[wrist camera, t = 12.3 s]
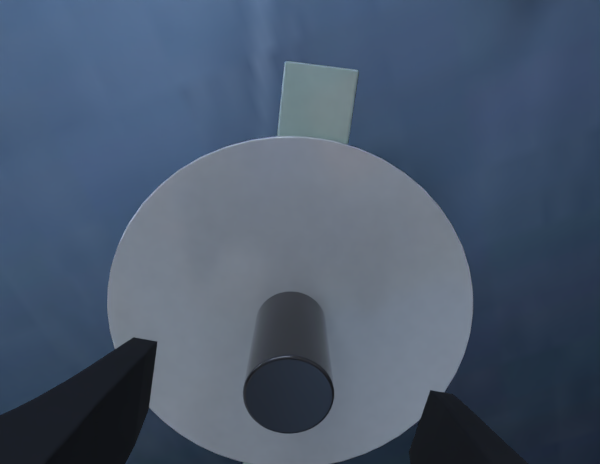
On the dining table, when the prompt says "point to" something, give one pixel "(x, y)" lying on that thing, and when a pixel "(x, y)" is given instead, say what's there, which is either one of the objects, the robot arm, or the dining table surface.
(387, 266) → the lid
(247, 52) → the dining table surface
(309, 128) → the grey-green ring with tabs
